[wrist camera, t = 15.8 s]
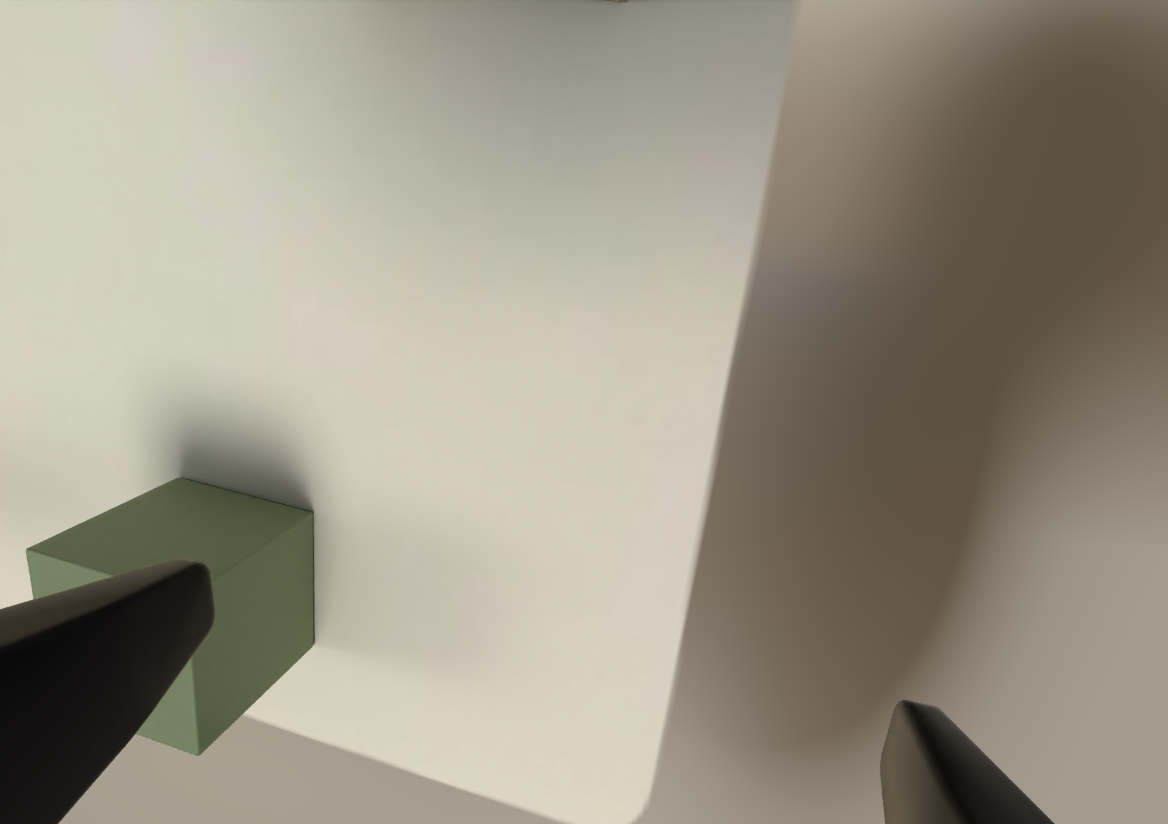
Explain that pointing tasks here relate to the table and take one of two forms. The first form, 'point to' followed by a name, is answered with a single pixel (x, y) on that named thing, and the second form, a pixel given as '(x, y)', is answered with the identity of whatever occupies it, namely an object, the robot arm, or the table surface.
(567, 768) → the table surface
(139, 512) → the riser
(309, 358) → the table surface
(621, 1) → the stand
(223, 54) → the table surface
